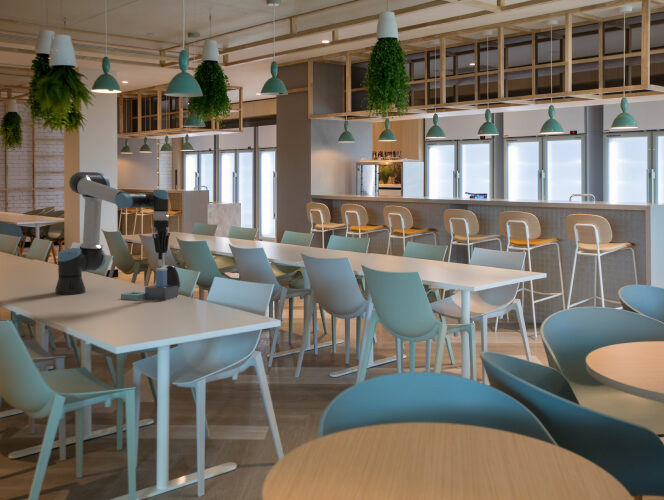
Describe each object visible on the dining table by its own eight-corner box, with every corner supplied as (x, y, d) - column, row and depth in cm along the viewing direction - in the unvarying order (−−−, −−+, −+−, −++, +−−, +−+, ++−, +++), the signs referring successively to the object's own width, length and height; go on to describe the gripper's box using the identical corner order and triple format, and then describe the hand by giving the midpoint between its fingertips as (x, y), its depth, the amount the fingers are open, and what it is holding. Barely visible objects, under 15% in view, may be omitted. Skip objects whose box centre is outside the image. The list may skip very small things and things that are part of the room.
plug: (155, 296, 356) (155, 268, 354) (160, 295, 359) (160, 267, 358) (163, 296, 354) (162, 268, 353) (167, 295, 358) (167, 268, 357)
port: (145, 298, 353) (144, 286, 353) (158, 295, 365) (158, 283, 364) (165, 300, 349) (165, 287, 349) (178, 296, 361) (178, 284, 360)
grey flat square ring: (120, 298, 352) (120, 294, 352) (132, 296, 361) (132, 291, 361) (137, 300, 349) (137, 295, 349) (149, 297, 358) (148, 292, 358)
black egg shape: (183, 292, 377) (182, 264, 376) (176, 295, 367) (176, 266, 365) (164, 291, 378) (164, 264, 377) (158, 294, 368) (158, 266, 366)
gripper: (160, 220, 346) (160, 267, 348) (174, 219, 358) (174, 264, 360) (147, 220, 348) (148, 266, 350) (161, 219, 361) (162, 263, 363)
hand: (161, 265), depth 355 cm, fingers closed
